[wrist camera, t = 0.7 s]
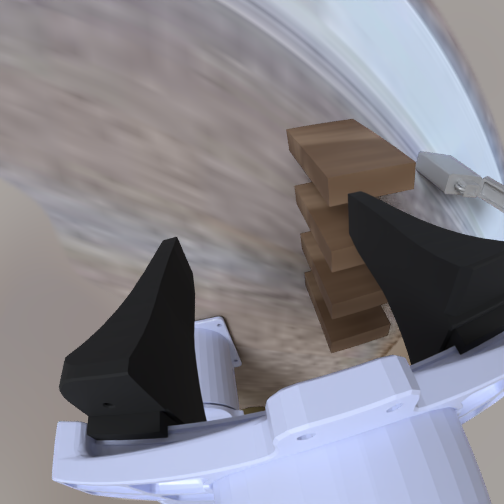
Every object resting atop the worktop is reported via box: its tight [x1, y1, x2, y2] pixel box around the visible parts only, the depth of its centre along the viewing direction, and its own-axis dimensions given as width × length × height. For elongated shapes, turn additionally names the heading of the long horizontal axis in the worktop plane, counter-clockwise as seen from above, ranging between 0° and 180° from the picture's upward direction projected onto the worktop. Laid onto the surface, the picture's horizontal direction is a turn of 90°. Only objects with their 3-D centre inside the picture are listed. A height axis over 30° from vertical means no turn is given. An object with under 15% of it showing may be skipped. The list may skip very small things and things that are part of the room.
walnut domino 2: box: [294, 182, 380, 272], centre depth 20 cm, size 2×5×8 cm, turn 101°
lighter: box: [415, 151, 504, 213], centre depth 20 cm, size 7×2×8 cm, turn 89°
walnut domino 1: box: [286, 119, 416, 207], centre depth 18 cm, size 2×5×8 cm, turn 101°
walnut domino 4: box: [305, 271, 391, 353], centre depth 26 cm, size 2×5×8 cm, turn 101°
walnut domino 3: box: [300, 231, 388, 319], centre depth 23 cm, size 2×5×8 cm, turn 101°
